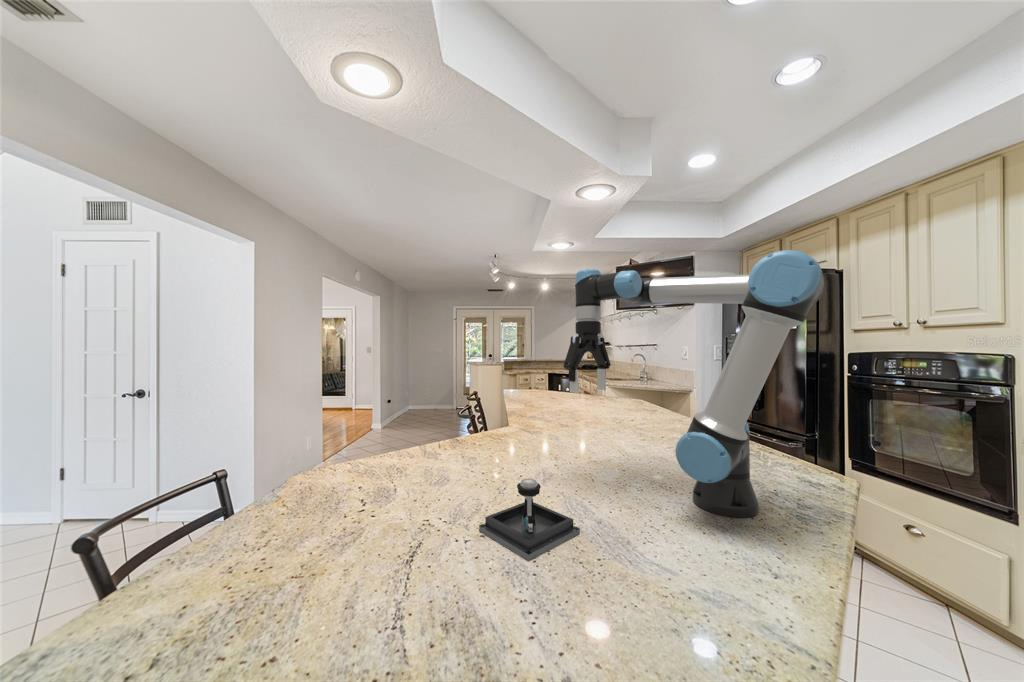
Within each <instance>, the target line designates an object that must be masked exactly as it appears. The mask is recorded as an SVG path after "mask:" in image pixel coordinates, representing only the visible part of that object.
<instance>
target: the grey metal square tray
mask: <svg viewBox="0 0 1024 682" xmlns="http://www.w3.org/2000/svg"><path fill="white" fill-rule="evenodd" d="M524 503H525V501H524V502H522V503H519V504H516V505H514V506H511V507H509V508H506V509H503V510H500V511H498V512H495V513H492V514H489V515H487V516H485V518H484V519H485V520H484V521H485V522H484V523H481V524H479V525H478V526H479V527H478V530H479V532H480V533H481V534H483V535H485V536H487V537H488V538H490V539H491V540H493V541H495V542H496V543H498V544H500V545H501V546H504V547H505V548H507V549H508V550H509V551H511V552H512V553H515V554H516V555H517V556H519V557H521V558H523V559H524V560H526V561H527V562H530V561H531V560H533V559H535V558H537V557H539V556H541V555H543V554H545V553H547V552H548V551H550V550H553V549H554V548H556V547H558V546H560V545H561V544H564V543H565V542H567V541H569V540H571V539H573V538H575V537H577V536H578V535H580V531H581V530H580V529H581V528H580V527H578V526H575V525H574V518H572V517H569V516H567V515H564V514H562V513H559V512H557V511H555V510H553V509H550V508H548V507H545V506H543V505H541V504H539V503H536V502H534V501H533V508H535V509H536V514H535V519H536V526H535V525H533V530H532V531H533V532H529V530H526V528H525V522H524V520H523V526H522V517H523V515H522V508H524ZM530 531H531V530H530Z"/></svg>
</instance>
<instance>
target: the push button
mask: <svg viewBox="0 0 1024 682" xmlns="http://www.w3.org/2000/svg"><path fill="white" fill-rule="evenodd" d="M541 487H542V486H541V484H540V483H538V482H537V480H536V479H534V478H523V479H521V481H520V482H519V483H517V485H516V488H517V492H518V494H519V495H520V496H521V497H523V498H524V502H525V503H524V502H523V503H524V508H522V515H523V517H522V526H523V520H524V522H525V528H526V530H529V532H533V531H532V530H533V525H535V526H536V519H535V514H536V509H535V508H533V502H534V497H536V496H538V495H539V494H540V490H541ZM530 530H531V531H530Z"/></svg>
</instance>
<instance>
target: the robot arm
mask: <svg viewBox="0 0 1024 682" xmlns="http://www.w3.org/2000/svg"><path fill="white" fill-rule="evenodd" d="M574 287H575V288H574V289H575V321H576V322H575V334H576V335H575V336H571V337H570V344H569V346H568V351H567V353H566V356H565V360H564V363H563V368H564V369H565V370H566V371H568V381H569V393H571V394H579V393H580V392H579V391H580V390H579V389H580V388H579V387H580V386H579V385H580V383H579V382H580V381H579V380H580V379H579V377H580V376H579V370H578V368H579V365H580V364H581V361H582V359H583V358H584V356H585V354H586V353H588V352H589V353H590V354H591V355H592V357H593V359H594V361H595V363H596V365H597V367H598V368H596V390H602V391H606V390H607V387H606V385H607V381H606V380H607V379H606V378H607V370H609V369H610V367H611V361H610V358H609V354H608V351H607V348H606V345H605V343H606V341H605V337H604V336H603V337H599V336H598V335H600V334H601V333H602V330H601V329H602V325H601V322H600V320H602V312H601V303H602V301H607V300H608V301H609V300H621V301H624V302H625V301H626V302H630V303H634V304H638V305H646V304H722V305H723V304H725V305H727V304H728V305H730V304H731V305H733V304H737V305H742V306H741V309H742V310H743V313H744V314H745V316H744V317H745V318H744V320H743V321H742V324H741V327H740V328H739V331H738V334H737V335H736V338H735V340H734V342H733V345H732V347H731V349H730V351H729V353H728V356H727V358H726V361H725V362H724V365H723V367H722V370H721V372H720V374H719V377H718V379H717V381H716V383H715V385H714V388H713V391H712V392H711V394H710V397H709V400H708V401H707V403H706V406H705V409H704V410H702V411H700V412H696V413H695V414H694V416H693V418H692V420H691V422H690V425H689V427H688V429H687V431H686V433H684V434H682V436H680V438H679V439H678V440H677V442H676V445H675V457H676V460H677V463H678V464H679V467H680V468H681V469H682V470H683V472H684V473H685V475H687V476H688V477H690V478H692V479H693V480H695V481H696V482H695V485H694V487H693V490H692V501H693V503H694V504H695V505H696V506H697V507H699V508H701V509H702V510H704V511H707V512H709V513H713V514H715V515H721V516H725V517H729V518H730V517H731V518H751V517H755V516H757V515H758V514H759V513H760V511H759V509H760V508H759V501H758V500H759V499H758V497H757V495H756V492H755V489H754V487H753V484H752V482H751V473H750V472H751V471H750V470H751V464H750V463H751V461H750V460H751V458H750V454H751V453H750V449H751V448H750V435H751V431H750V426H749V423H748V422H747V421H748V419H749V417H750V415H751V413H752V411H753V409H754V407H755V405H756V402H757V400H758V398H759V396H760V394H761V391H762V390H763V387H764V385H765V384H766V381H767V380H768V377H769V375H770V373H771V371H772V368H773V367H774V364H775V363H776V360H777V358H778V356H779V354H780V352H781V349H782V348H783V345H784V343H785V341H786V339H787V337H788V335H789V333H790V330H791V329H794V328H796V327H798V326H800V325H803V324H804V322H805V319H806V317H807V315H808V313H809V312H810V309H811V307H812V306H813V305H814V304H816V302H818V301H819V299H820V298H821V297H822V296H823V295H824V294H823V293H824V292H825V288H826V278H825V276H824V274H823V271H822V268H821V266H820V263H819V262H818V261H817V260H816V259H815V258H814V257H812V256H810V255H809V254H807V253H804V252H802V251H798V250H791V249H783V250H778V251H775V252H771V253H770V254H767V255H766V256H764V257H762V258H761V259H759V261H758V262H756V263H755V265H754V266H753V268H751V270H750V272H749V273H748V274H721V275H720V274H719V275H698V276H697V275H695V276H694V275H693V276H673V277H672V276H670V277H669V276H666V277H652V278H651V277H650V278H649V277H648V278H643V277H641V275H640V274H639V273H638V271H636V270H622V271H618V272H612V273H605V274H601V271H600V270H599V269H596V268H588V269H586V268H585V269H579V270H578V271H577V272H576V274H575V284H574Z"/></svg>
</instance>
